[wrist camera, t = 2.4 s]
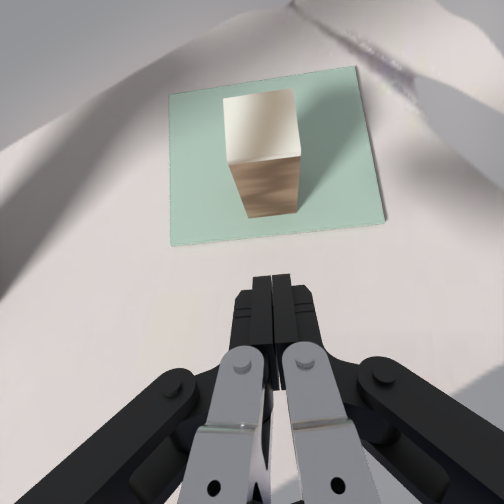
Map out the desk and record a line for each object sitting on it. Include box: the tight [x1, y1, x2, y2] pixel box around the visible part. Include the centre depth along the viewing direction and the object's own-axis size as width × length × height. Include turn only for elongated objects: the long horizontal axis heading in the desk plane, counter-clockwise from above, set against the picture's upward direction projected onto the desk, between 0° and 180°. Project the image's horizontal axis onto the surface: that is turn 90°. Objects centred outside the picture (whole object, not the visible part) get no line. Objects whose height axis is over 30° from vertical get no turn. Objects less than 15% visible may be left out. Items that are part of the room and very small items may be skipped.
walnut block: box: [223, 88, 301, 219], centre depth 26 cm, size 5×5×11 cm
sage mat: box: [169, 66, 385, 246], centre depth 33 cm, size 22×19×1 cm
